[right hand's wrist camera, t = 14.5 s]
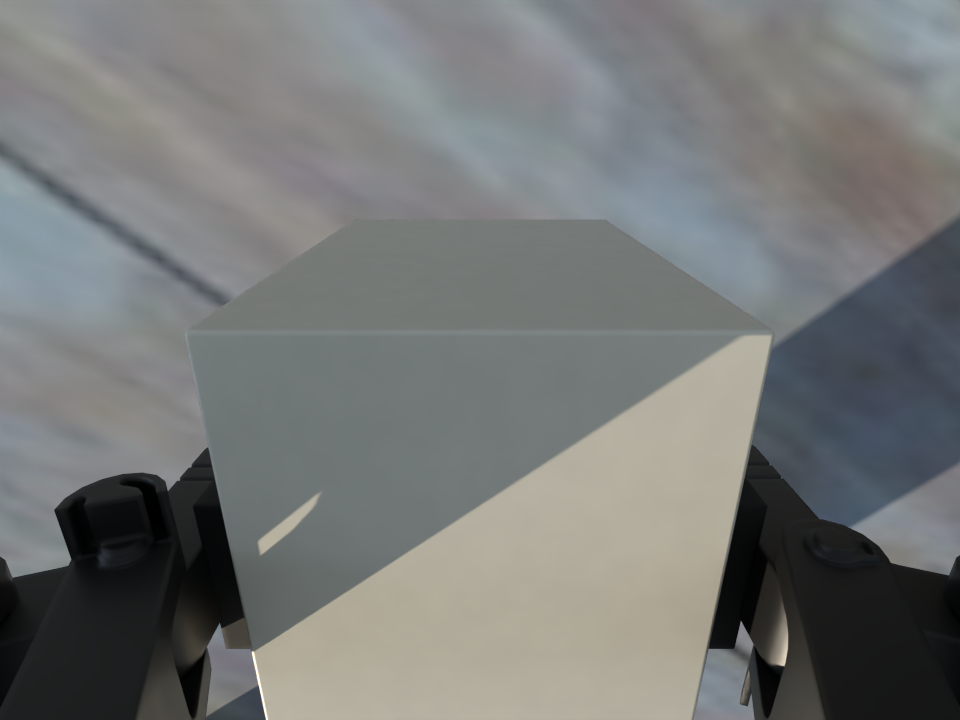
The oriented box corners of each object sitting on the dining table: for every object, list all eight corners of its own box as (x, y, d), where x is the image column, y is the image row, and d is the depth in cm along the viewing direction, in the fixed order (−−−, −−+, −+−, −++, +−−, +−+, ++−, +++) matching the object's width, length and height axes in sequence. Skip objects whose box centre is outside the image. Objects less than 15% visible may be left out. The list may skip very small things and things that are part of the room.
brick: (352, 219, 14) (179, 330, 6) (607, 219, 14) (779, 330, 6) (376, 497, 17) (284, 815, 9) (583, 497, 17) (675, 815, 9)
